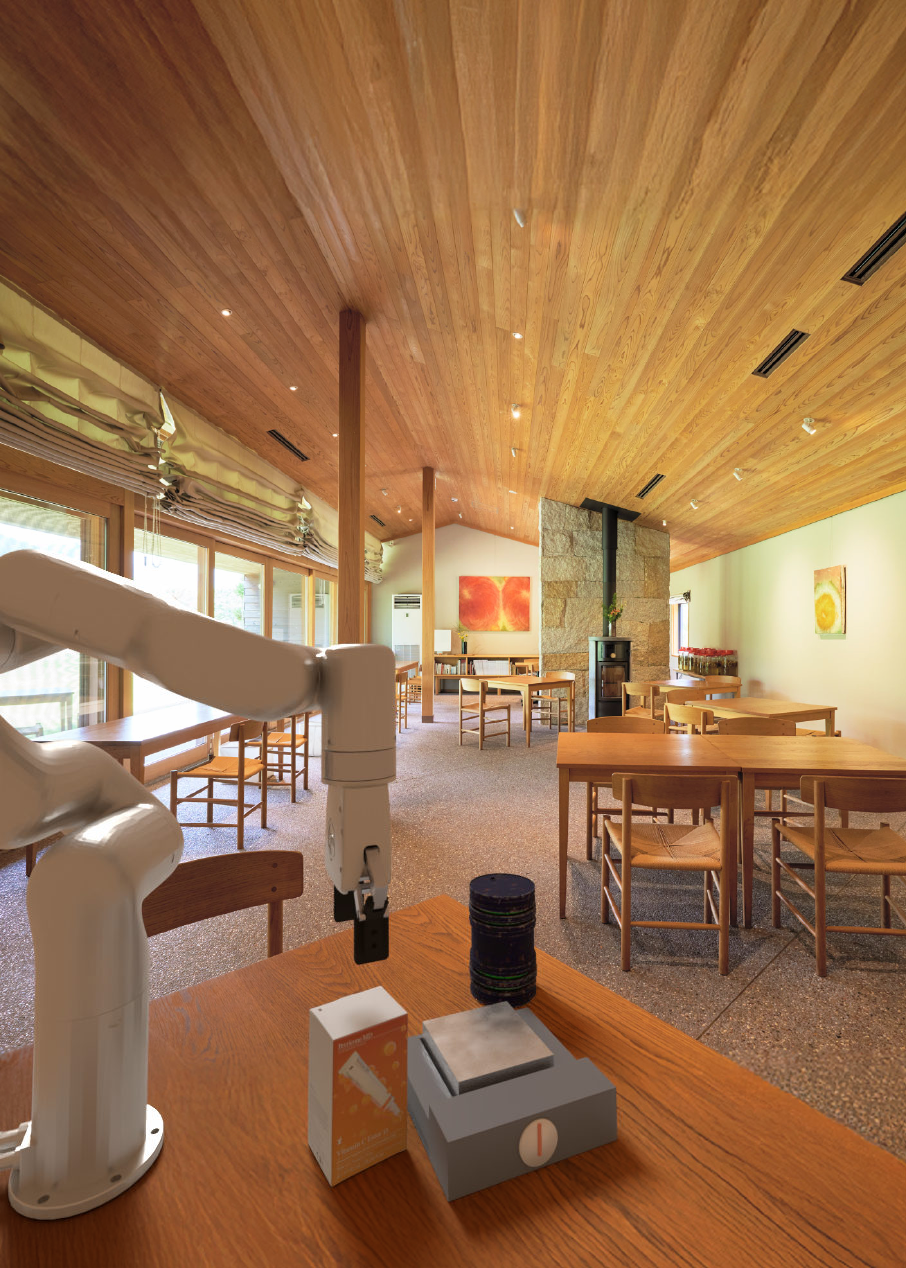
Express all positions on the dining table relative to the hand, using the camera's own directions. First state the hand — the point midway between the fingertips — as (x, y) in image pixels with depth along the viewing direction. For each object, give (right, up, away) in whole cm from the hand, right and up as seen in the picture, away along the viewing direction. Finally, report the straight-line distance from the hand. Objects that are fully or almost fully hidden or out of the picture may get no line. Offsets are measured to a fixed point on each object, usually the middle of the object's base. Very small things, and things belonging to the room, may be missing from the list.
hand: (359, 938), depth 59 cm
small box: (0, -20, -1) cm, 20 cm away
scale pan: (+13, -18, +7) cm, 23 cm away
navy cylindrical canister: (+17, -22, +27) cm, 38 cm away
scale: (+14, -20, +4) cm, 25 cm away
